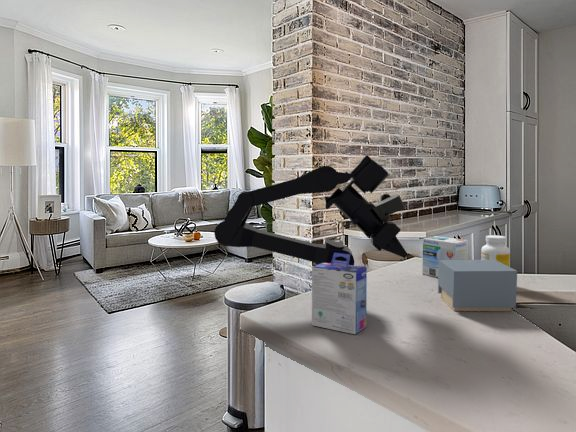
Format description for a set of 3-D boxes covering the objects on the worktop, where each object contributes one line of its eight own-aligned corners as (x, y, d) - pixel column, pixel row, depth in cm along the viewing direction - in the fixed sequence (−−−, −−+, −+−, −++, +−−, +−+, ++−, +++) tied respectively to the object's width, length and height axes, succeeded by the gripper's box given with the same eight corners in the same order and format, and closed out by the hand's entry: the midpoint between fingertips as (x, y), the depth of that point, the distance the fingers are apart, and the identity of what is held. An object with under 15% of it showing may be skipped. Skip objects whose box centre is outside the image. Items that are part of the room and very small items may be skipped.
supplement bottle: (511, 284, 108) (513, 236, 106) (504, 290, 103) (506, 239, 102) (485, 280, 112) (486, 233, 111) (476, 285, 108) (478, 237, 106)
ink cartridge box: (368, 326, 81) (368, 254, 80) (357, 336, 77) (356, 260, 75) (324, 317, 87) (323, 250, 85) (311, 326, 82) (309, 255, 80)
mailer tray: (453, 310, 89) (454, 299, 89) (441, 297, 98) (441, 287, 98) (511, 310, 88) (511, 299, 88) (493, 297, 97) (493, 287, 97)
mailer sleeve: (453, 307, 88) (453, 271, 87) (437, 292, 99) (438, 260, 98) (515, 307, 87) (517, 270, 86) (493, 292, 98) (494, 259, 97)
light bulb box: (421, 274, 120) (421, 238, 119) (434, 270, 124) (435, 235, 123) (455, 281, 111) (456, 242, 110) (468, 277, 115) (469, 239, 114)
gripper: (389, 183, 82) (445, 237, 82) (376, 181, 100) (421, 225, 101) (350, 223, 83) (405, 276, 84) (344, 213, 102) (389, 257, 102)
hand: (406, 256), depth 93 cm, fingers closed
